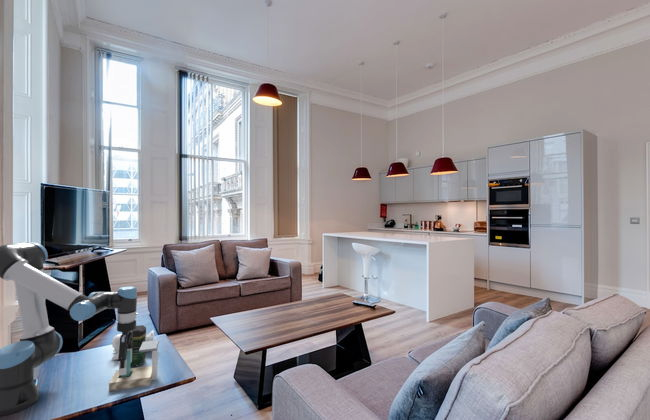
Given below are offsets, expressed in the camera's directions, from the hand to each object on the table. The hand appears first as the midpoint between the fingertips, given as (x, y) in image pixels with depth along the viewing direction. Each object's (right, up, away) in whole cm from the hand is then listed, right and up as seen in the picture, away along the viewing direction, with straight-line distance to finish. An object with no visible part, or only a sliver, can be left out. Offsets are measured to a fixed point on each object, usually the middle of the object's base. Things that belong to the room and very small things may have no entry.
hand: (125, 368), depth 147 cm
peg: (0, -6, 0) cm, 6 cm away
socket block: (+3, -6, +1) cm, 7 cm away
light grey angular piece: (+9, -7, +4) cm, 12 cm away
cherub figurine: (-15, -7, +30) cm, 34 cm away
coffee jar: (-6, -7, +19) cm, 21 cm away
